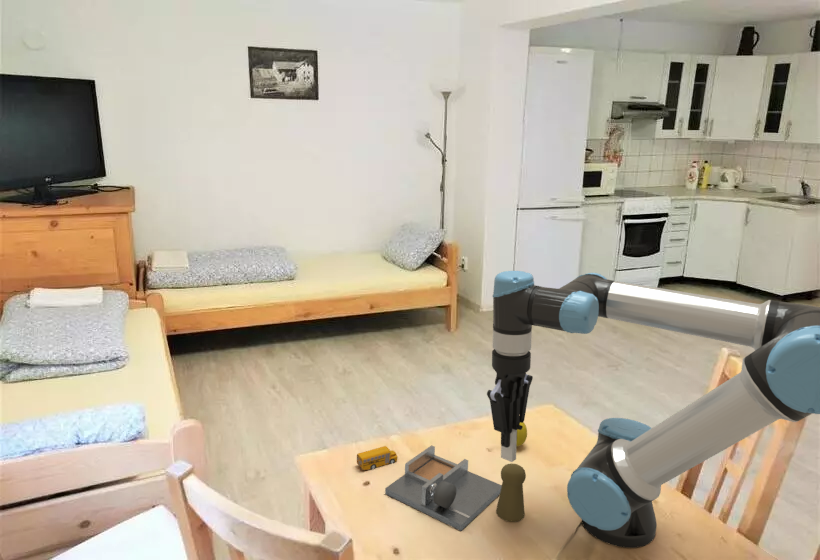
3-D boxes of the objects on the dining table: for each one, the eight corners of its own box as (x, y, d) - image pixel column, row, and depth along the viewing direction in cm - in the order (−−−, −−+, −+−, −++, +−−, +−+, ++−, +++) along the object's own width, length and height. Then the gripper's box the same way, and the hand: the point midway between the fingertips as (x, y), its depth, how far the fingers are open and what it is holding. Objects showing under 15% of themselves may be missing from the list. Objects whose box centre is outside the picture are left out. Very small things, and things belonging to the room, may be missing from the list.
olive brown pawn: (502, 501, 134) (505, 456, 131) (528, 510, 131) (532, 465, 128) (491, 515, 129) (494, 469, 126) (518, 525, 126) (522, 478, 123)
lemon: (500, 443, 158) (502, 415, 156) (519, 440, 160) (521, 412, 157) (510, 454, 153) (512, 425, 151) (529, 451, 154) (532, 422, 152)
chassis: (502, 491, 137) (504, 468, 136) (460, 531, 124) (462, 505, 122) (430, 461, 149) (431, 439, 147) (385, 494, 135) (385, 470, 134)
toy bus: (398, 462, 148) (398, 448, 147) (362, 473, 143) (362, 458, 142) (391, 456, 151) (392, 442, 150) (356, 466, 146) (356, 452, 145)
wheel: (455, 501, 130) (456, 480, 129) (442, 512, 126) (443, 491, 125) (444, 496, 132) (445, 476, 131) (431, 507, 128) (432, 486, 127)
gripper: (513, 337, 126) (510, 440, 132) (476, 354, 117) (474, 464, 122) (545, 345, 121) (541, 452, 127) (508, 363, 112) (505, 478, 117)
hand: (508, 458), depth 125 cm, fingers closed
